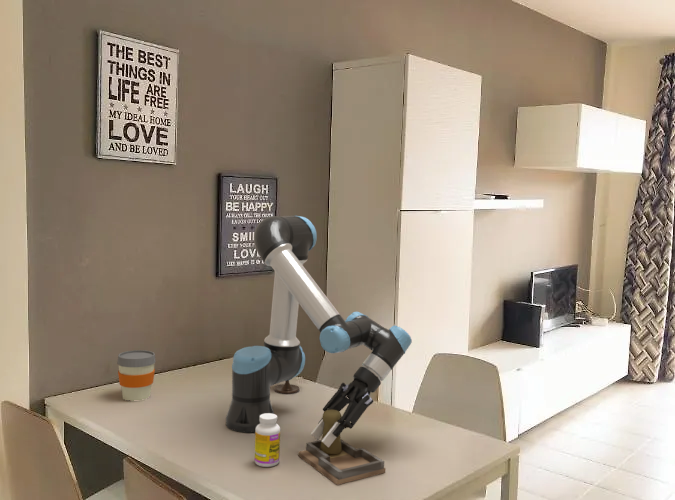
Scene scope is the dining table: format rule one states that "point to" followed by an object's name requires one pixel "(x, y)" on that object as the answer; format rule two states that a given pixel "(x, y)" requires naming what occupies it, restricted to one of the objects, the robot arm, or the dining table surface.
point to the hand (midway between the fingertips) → (319, 440)
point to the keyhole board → (342, 462)
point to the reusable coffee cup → (136, 373)
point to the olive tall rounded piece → (329, 420)
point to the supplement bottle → (267, 441)
